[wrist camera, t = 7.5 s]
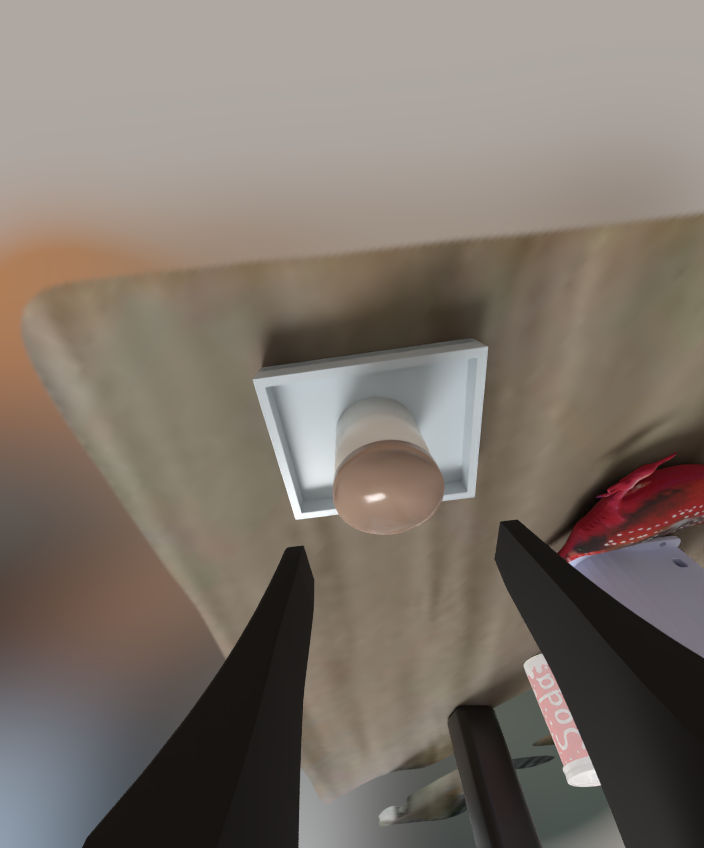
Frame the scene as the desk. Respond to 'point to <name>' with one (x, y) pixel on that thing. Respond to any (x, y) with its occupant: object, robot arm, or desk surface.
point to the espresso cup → (384, 469)
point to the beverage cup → (560, 724)
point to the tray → (364, 378)
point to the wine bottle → (490, 781)
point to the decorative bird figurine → (640, 510)
